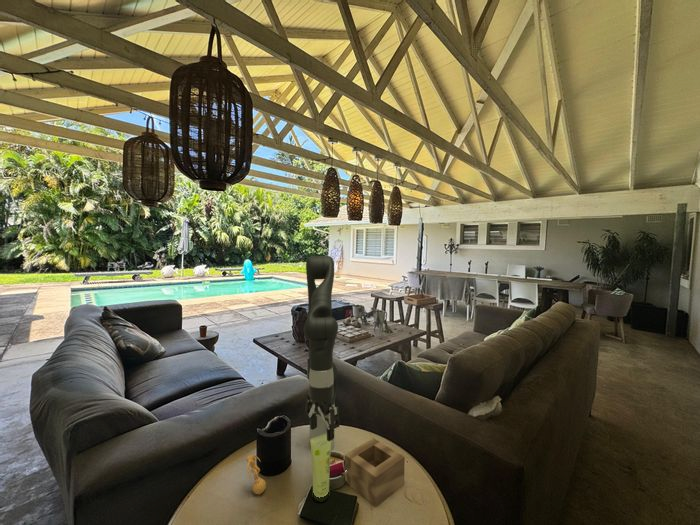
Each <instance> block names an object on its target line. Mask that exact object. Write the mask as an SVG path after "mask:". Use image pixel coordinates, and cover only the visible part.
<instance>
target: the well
mask: <svg viewBox="0 0 700 525" xmlns="http://www.w3.org/2000/svg"><path fill="white" fill-rule="evenodd" d="M405 458H406V457H405V456H404V455H402V454H400V453H399V452H397V450H396V451H395V450H394V449H392V448H390V447H389V446H387V445H386V444H384V443H383V442H381V441H379V440H377V439H376V438H374V437H373V438H371V439H369V440H367V441H366V442H364V443H363V444H361V445H359V446H357V447H355V448H354V449H352V450H350V451H348V452H346V453H345V454H344V470H345V469H346V470H347V471H348V473H347V483H348V484H349V485H350V486H349V485H348V484H347V483H346V484H347V485H348V486H349V487H351V489H353V490H354V491H355V490H356V491H357V492H356V491H355V492H356V493H358V494H359V495H360V494H361V495H362V496H363V497H362V496H361V495H360V496H361V497H362V498H363V499H365V500H366V499H367V500H368V501H369V502H368V503H369V504H371V505H372V506H373V507H374V508H377V507H378V506H379V505H380V504H382V503H383V502H384V501H385V500H387V499H389V497H390V496H392V495H393V494H394V493H395V492H396V491H398V490H399V489H401V487H403V486H404V485H405V465H406V464H405V460H406V459H405ZM367 500H366V501H367Z"/></svg>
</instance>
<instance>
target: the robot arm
mask: <svg viewBox="0 0 700 525" xmlns="http://www.w3.org/2000/svg"><path fill="white" fill-rule="evenodd" d="M305 270H306V271H305V272H306V286H307V299H308V300H307V302H308V306H307V307H308V308H307V311H308V312H307V313H308V315H307V318H306V320H305V322H304V325H303V334H304V337H305V339H306V340H308V348H309V349H308V350H309V351H308V366H307V379H308V383H309V384H308V385H309V390H308V391H309V392H308V394H306V395H305V407H304V409H305V413H306V414H308V417H309V440H310V439H311V438H314V437H317V436H320V435H323V434H326V433H327V441H331V451H332V450H334V448H335V430H336V429H338V428H339V427H340V424H341V422H340V409H339V406H335V400H336V396H337V391H338V369H337V366H336V364H335V363H334V362H333V357H334V356H333V354H334V351H333V350H334V347H335V342H336V338H337V335H338V331H339V324H338V321H337V319H335V317H333V316H332V314H333V313H332V312H333V308H332V306H333V304H332V303H333V302H332V294H333V293H332V292H333V286H334V281H335V261H334V258H333V257H332V256H331V255H321V256H320V255H318V256H317V255H316V256H314V255H313V256H308V257H307V258H306V262H305ZM316 280H323V281H322V282H320V284H318V286H317V284H316Z"/></svg>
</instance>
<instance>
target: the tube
mask: <svg viewBox="0 0 700 525" xmlns="http://www.w3.org/2000/svg"><path fill="white" fill-rule="evenodd" d="M309 444H310V454H311V468H312V472H311V473H312V494H313V493H314V495H315V496H316V497H319V498H320V497H324V496H326V495H327V494H328V492H329V493H330V472H331V471H330V468H331V466H330V465H331V464H330V463H331V451H332V450H331V441H327V433H326V434H323V435H320V436H317V437H314V438H311V439H310V438H309Z"/></svg>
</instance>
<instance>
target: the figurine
mask: <svg viewBox="0 0 700 525" xmlns="http://www.w3.org/2000/svg"><path fill="white" fill-rule="evenodd" d="M256 459H257V460H258V461H259V462H261V459H260V458H259V457H258V456H257V455H256V454H255V453H253V454H252V455H248V456H247V458H246V463H247V465H246V470H247V474H248V478H249V480H252V479H253V480H254V482H253V483H252V484H253V485H252V491H253V493H254V494H256V495H261V494H263V493H264V491H265V490H266V487H267V483H266V480H265V479H263V478H261V477H260V476H259V473H260V472H261V469H260V468H259V466H258V465H257V464H256ZM249 468H251V470H250V469H249ZM250 472H252V473H253V474H254V475H253V476H252V475H251V473H250Z"/></svg>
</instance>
